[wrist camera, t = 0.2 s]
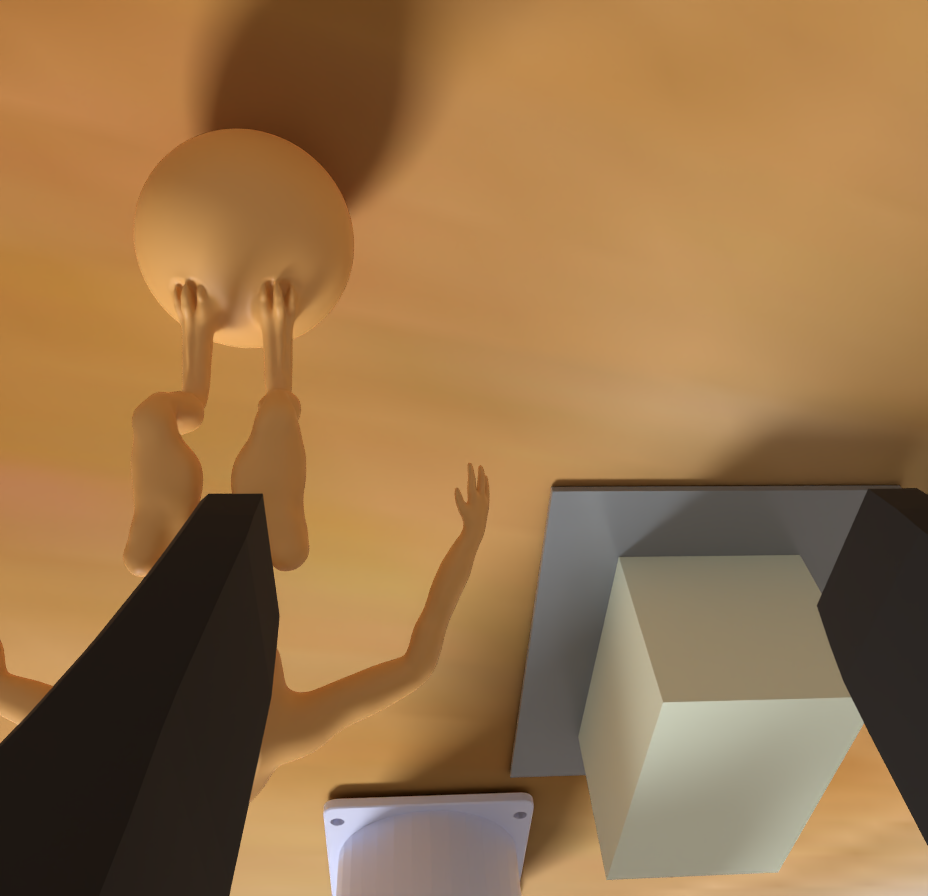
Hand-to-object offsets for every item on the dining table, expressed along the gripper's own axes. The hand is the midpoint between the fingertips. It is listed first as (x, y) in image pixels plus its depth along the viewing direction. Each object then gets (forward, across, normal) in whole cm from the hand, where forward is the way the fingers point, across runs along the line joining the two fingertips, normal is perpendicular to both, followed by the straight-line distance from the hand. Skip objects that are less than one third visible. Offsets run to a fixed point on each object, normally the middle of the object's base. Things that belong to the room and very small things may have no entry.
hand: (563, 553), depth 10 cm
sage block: (+10, -7, +14) cm, 19 cm away
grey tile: (+10, -7, +14) cm, 19 cm away
